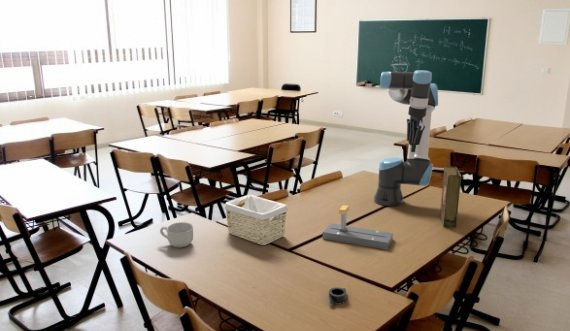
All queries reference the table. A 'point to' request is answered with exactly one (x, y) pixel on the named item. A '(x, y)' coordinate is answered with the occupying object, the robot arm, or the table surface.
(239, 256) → the table surface
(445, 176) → the book
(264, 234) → the storage basket
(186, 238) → the teacup
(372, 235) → the fader console
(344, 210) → the fader knob
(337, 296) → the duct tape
